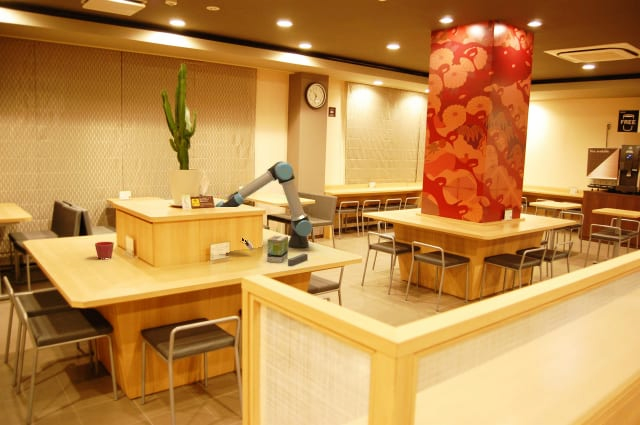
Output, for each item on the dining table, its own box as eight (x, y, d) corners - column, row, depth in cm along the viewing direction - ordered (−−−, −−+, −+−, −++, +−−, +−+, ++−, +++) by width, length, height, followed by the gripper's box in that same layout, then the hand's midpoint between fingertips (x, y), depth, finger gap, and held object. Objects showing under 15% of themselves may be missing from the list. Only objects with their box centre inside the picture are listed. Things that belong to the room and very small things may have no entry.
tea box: (281, 263, 319) (282, 240, 317) (266, 262, 321) (266, 239, 318) (288, 257, 333) (288, 235, 331) (273, 256, 335) (273, 235, 333)
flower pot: (114, 259, 318) (113, 244, 316) (95, 260, 314) (94, 245, 312) (114, 255, 327) (113, 241, 326) (95, 256, 323) (95, 242, 322)
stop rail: (303, 259, 329) (303, 253, 329) (307, 260, 328) (307, 254, 328) (287, 265, 312) (287, 259, 311) (292, 266, 310) (292, 260, 310)
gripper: (234, 223, 346) (254, 250, 341) (222, 226, 334) (243, 254, 329) (240, 216, 343) (260, 243, 338) (228, 219, 331) (249, 247, 326)
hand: (252, 248), depth 334 cm, fingers closed
